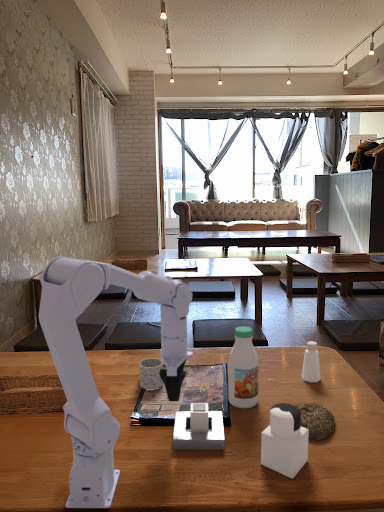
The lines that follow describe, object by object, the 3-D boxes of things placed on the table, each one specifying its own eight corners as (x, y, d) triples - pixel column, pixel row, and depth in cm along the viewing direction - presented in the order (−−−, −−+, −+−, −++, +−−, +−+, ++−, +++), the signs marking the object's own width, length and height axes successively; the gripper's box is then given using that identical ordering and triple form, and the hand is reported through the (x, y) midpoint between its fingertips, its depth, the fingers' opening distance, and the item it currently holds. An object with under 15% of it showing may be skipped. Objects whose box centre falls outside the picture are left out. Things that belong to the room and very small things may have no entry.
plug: (208, 437, 91) (208, 411, 90) (190, 437, 91) (190, 411, 90) (208, 427, 95) (208, 402, 94) (191, 426, 95) (190, 402, 94)
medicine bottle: (276, 447, 88) (277, 395, 86) (308, 460, 84) (310, 406, 82) (260, 464, 83) (260, 410, 81) (292, 480, 78) (294, 422, 76)
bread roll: (319, 447, 89) (320, 426, 88) (271, 424, 97) (271, 405, 96) (345, 422, 98) (346, 403, 97) (298, 403, 106) (299, 386, 105)
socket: (224, 449, 88) (224, 439, 87) (173, 449, 88) (172, 439, 88) (221, 420, 98) (221, 411, 98) (176, 421, 99) (176, 411, 98)
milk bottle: (223, 405, 106) (223, 331, 102) (234, 391, 112) (235, 322, 109) (252, 412, 102) (253, 336, 99) (262, 398, 109) (263, 326, 105)
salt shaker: (324, 380, 118) (326, 344, 116) (309, 384, 116) (310, 347, 114) (312, 372, 123) (313, 338, 121) (297, 376, 121) (298, 340, 119)
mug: (166, 387, 116) (166, 365, 115) (144, 392, 113) (143, 369, 112) (154, 373, 125) (153, 352, 123) (133, 377, 122) (132, 356, 121)
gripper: (190, 346, 82) (191, 409, 85) (193, 323, 97) (194, 377, 99) (156, 346, 83) (157, 408, 85) (163, 323, 97) (164, 377, 99)
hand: (175, 391), depth 92 cm, fingers open, 7 cm apart
